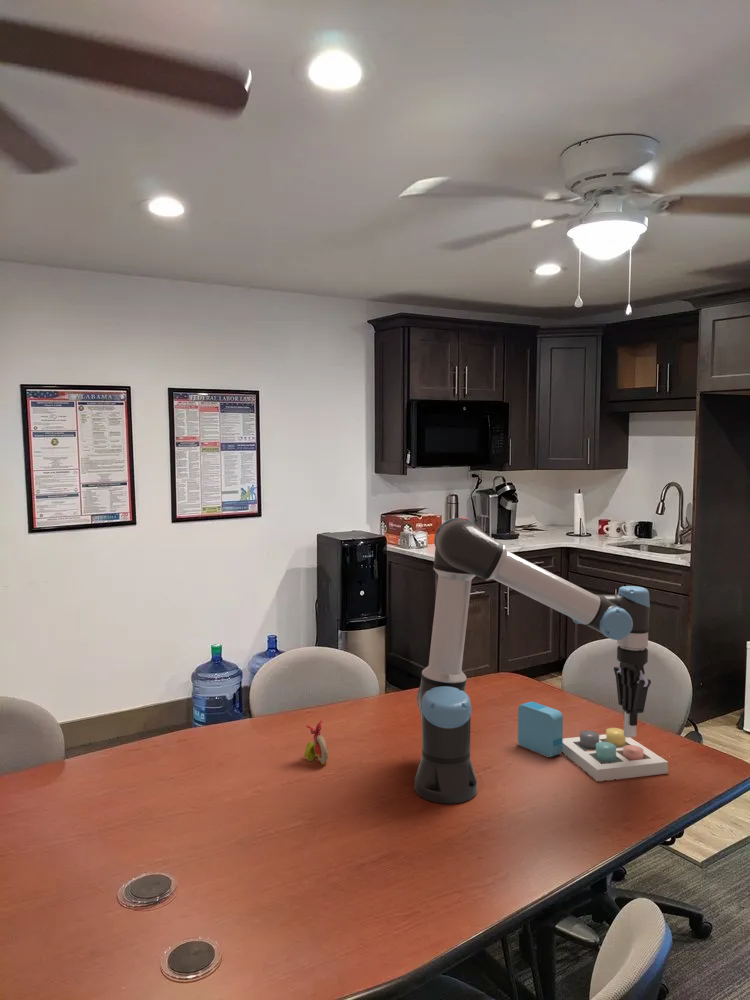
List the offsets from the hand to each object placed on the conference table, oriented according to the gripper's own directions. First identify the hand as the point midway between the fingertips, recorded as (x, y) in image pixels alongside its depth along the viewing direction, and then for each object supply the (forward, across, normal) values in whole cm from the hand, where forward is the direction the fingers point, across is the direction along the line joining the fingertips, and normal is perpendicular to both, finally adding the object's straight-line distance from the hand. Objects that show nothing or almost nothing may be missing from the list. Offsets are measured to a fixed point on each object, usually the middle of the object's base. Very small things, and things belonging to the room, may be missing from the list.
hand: (629, 736), depth 184 cm
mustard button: (+5, +8, -1) cm, 9 cm away
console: (+8, +4, +3) cm, 9 cm away
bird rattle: (+9, +22, +78) cm, 81 cm away
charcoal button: (+5, +8, +7) cm, 12 cm away
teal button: (+5, 0, +7) cm, 9 cm away
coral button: (+7, 0, -1) cm, 7 cm away
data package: (+8, +15, +18) cm, 25 cm away
